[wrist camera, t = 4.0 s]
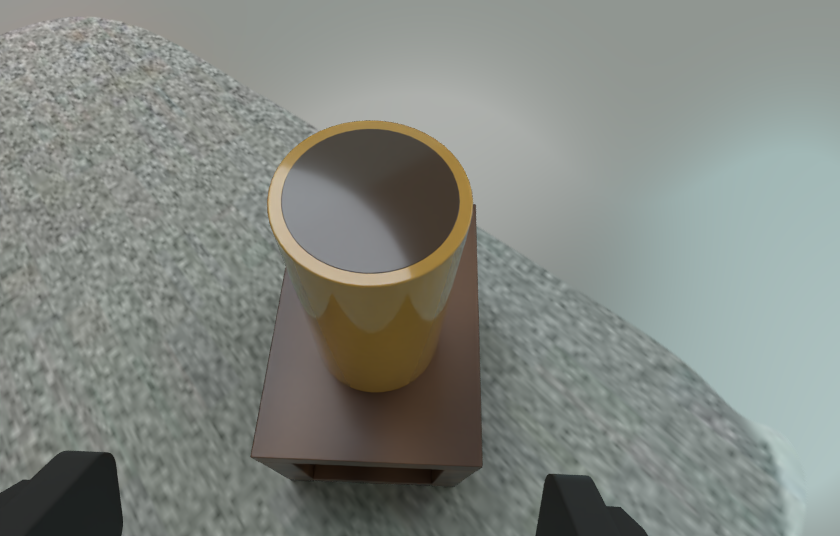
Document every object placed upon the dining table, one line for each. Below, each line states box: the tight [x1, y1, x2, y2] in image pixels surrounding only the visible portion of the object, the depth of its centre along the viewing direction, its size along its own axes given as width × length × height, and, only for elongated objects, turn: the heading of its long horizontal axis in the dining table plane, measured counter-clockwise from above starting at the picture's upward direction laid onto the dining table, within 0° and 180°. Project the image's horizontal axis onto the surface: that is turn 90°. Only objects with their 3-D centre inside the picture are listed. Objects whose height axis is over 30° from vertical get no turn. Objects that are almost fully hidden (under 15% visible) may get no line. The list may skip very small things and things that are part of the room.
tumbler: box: [267, 120, 473, 392], centre depth 19 cm, size 6×6×11 cm
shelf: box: [251, 204, 483, 487], centre depth 29 cm, size 10×14×10 cm
